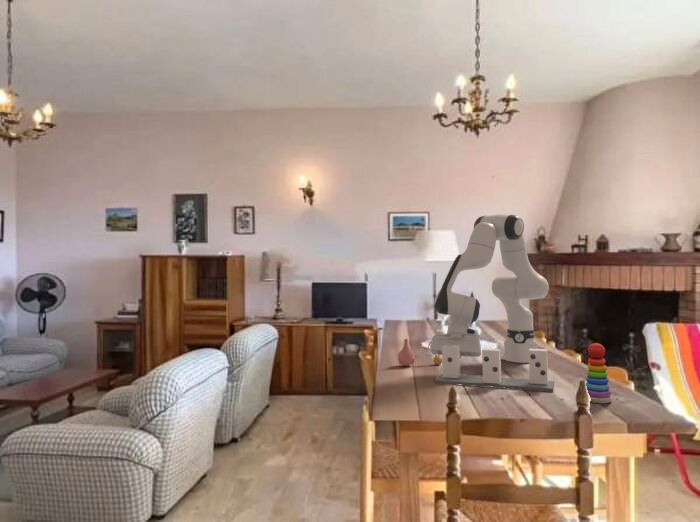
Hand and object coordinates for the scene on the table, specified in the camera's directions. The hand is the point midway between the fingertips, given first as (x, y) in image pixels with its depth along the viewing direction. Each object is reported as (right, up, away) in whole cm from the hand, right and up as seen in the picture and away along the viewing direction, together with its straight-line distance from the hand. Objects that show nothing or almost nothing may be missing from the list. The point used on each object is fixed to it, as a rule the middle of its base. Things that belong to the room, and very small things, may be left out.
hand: (452, 363), depth 202 cm
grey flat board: (+13, -6, -10) cm, 18 cm away
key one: (-1, -5, -3) cm, 6 cm away
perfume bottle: (-15, -7, +26) cm, 31 cm away
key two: (+12, -4, -13) cm, 18 cm away
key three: (+28, -4, -16) cm, 33 cm away
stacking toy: (+40, -5, -36) cm, 54 cm away
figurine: (-1, -6, +28) cm, 29 cm away
